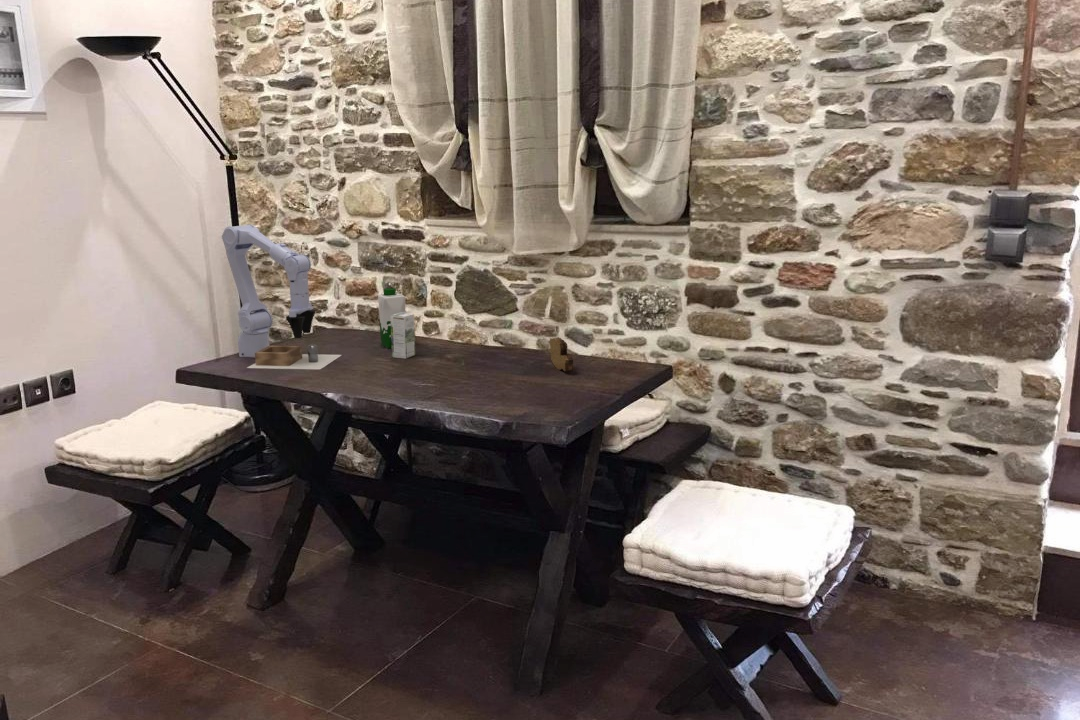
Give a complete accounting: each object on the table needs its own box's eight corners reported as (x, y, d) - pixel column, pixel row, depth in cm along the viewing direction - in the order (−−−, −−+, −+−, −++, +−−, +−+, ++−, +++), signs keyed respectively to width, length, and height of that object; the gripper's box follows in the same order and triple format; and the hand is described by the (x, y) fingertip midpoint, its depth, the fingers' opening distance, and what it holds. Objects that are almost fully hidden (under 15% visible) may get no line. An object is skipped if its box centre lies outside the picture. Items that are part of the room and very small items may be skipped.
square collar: (255, 365, 278) (254, 353, 277) (270, 357, 289) (269, 345, 288) (289, 365, 277) (288, 353, 276) (302, 358, 287) (301, 346, 287)
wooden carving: (579, 374, 268) (578, 342, 265) (565, 375, 266) (565, 343, 264) (557, 362, 282) (557, 332, 280) (544, 364, 281) (543, 333, 278)
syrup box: (401, 354, 297) (399, 311, 294) (416, 355, 294) (414, 313, 291) (391, 357, 292) (389, 314, 289) (406, 359, 289) (404, 316, 286)
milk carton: (401, 342, 315) (399, 287, 311) (410, 347, 308) (407, 290, 303) (378, 345, 312) (375, 289, 307) (386, 349, 304) (383, 292, 299)
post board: (246, 371, 275) (244, 351, 274) (273, 357, 295) (271, 338, 293) (320, 373, 272) (319, 352, 271) (342, 358, 292) (340, 339, 290)
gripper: (303, 297, 271) (306, 340, 274) (319, 289, 285) (322, 330, 288) (281, 297, 272) (284, 339, 275) (298, 289, 286) (301, 330, 289)
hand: (302, 335), depth 282 cm, fingers open, 7 cm apart
